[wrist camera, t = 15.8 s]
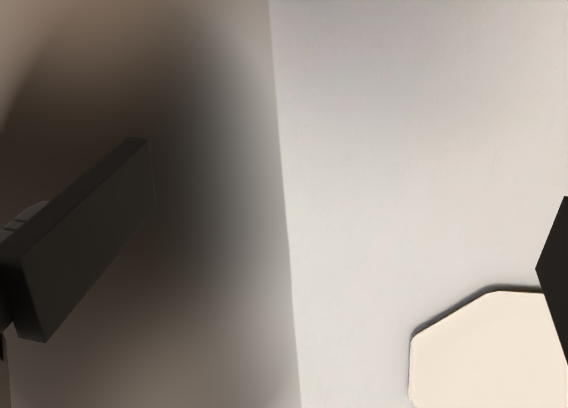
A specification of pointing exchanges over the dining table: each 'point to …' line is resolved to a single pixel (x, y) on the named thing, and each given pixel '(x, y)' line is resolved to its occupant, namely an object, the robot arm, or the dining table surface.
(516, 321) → the plate
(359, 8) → the dining table surface
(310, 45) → the dining table surface
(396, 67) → the dining table surface
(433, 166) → the dining table surface
